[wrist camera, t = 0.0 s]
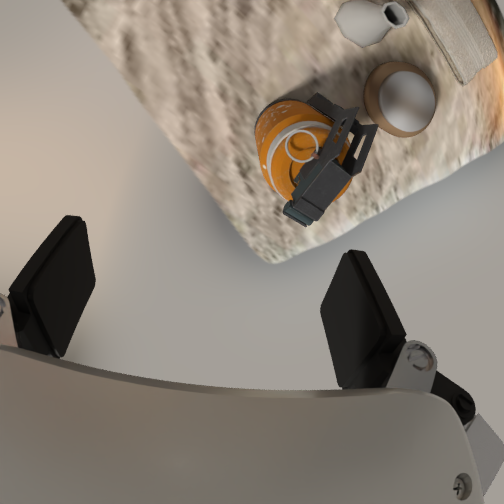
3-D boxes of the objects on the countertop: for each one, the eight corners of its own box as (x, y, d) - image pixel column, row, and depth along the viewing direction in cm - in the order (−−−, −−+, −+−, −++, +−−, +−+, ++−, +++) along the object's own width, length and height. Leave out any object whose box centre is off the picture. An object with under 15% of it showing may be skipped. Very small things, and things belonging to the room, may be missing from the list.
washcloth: (437, -35, 19) (448, -38, 17) (493, 56, 27) (505, 58, 25) (392, -11, 24) (403, -15, 21) (456, 85, 32) (468, 89, 29)
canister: (241, 139, 38) (242, 207, 22) (288, 73, 32) (334, 82, 16) (295, 172, 41) (333, 259, 25) (342, 112, 36) (419, 159, 19)
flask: (394, 29, 28) (434, 26, 20) (361, 56, 31) (396, 57, 23) (359, -10, 25) (392, -25, 17) (323, 17, 28) (349, 5, 20)
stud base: (373, 50, 30) (384, 50, 27) (435, 78, 31) (449, 81, 28) (355, 121, 36) (364, 127, 33) (417, 142, 38) (429, 149, 35)
